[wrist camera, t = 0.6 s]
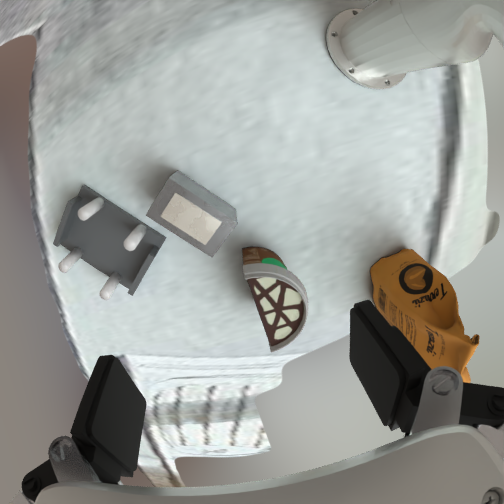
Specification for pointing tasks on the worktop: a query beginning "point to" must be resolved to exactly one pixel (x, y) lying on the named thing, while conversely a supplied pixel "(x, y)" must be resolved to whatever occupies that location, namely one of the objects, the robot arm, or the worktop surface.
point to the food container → (275, 295)
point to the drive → (193, 213)
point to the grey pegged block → (107, 240)
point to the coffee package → (423, 310)
